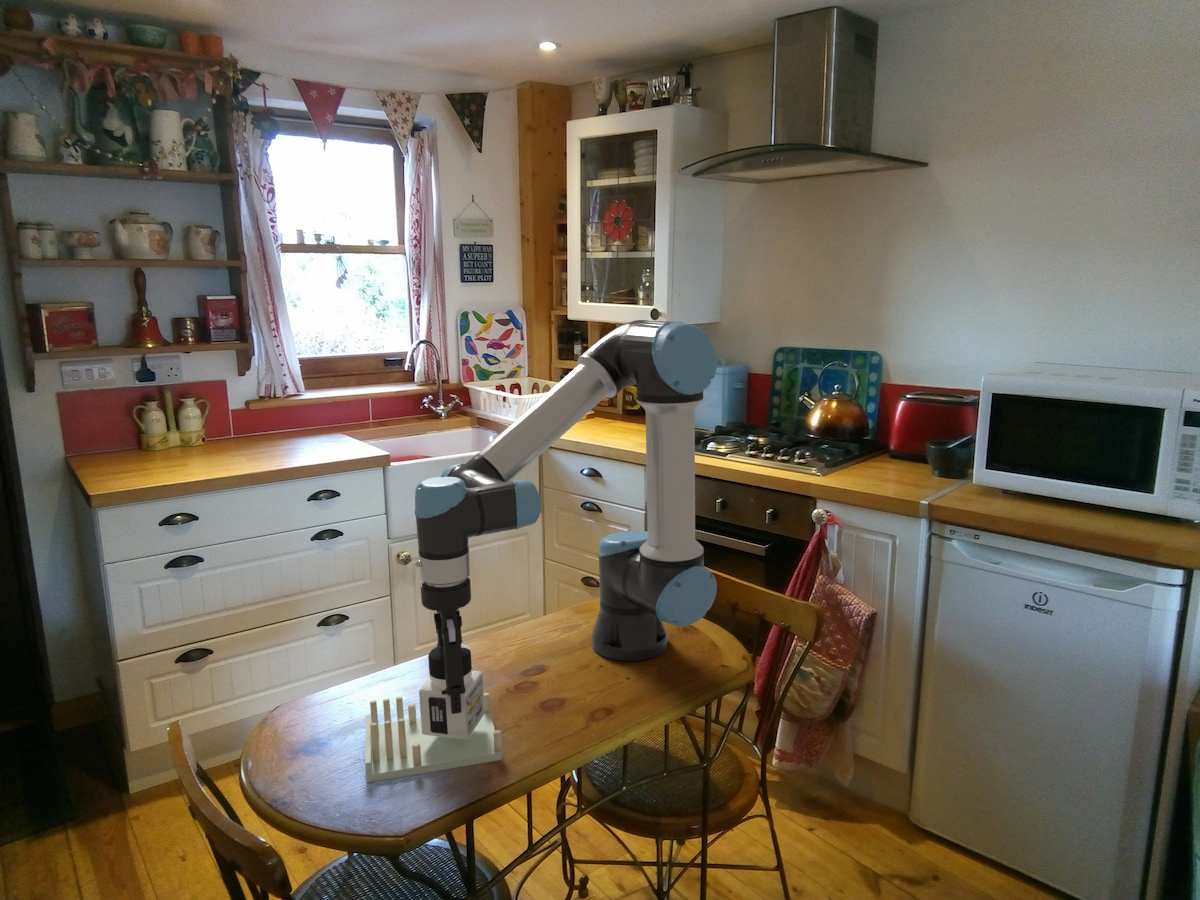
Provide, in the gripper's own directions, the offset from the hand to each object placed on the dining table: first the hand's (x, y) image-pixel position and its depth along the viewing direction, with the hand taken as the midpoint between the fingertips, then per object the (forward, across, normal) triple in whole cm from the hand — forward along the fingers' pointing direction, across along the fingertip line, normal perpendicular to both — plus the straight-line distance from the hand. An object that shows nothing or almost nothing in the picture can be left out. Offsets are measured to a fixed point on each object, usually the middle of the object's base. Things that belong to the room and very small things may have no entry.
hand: (453, 711), depth 129 cm
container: (+3, 0, 0) cm, 3 cm away
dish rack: (+5, 0, -4) cm, 6 cm away
